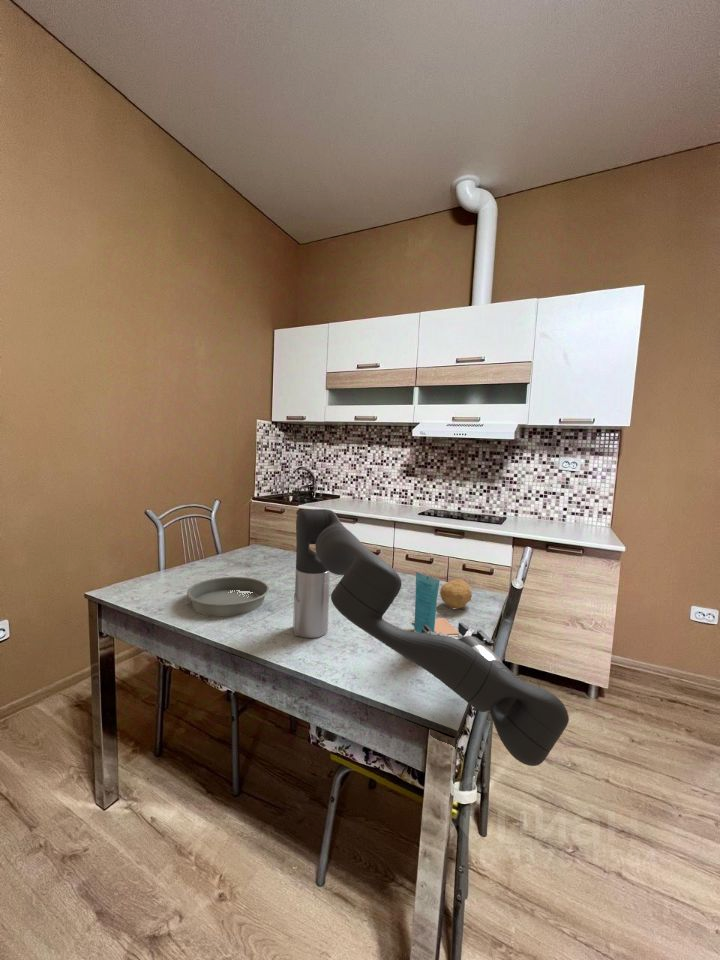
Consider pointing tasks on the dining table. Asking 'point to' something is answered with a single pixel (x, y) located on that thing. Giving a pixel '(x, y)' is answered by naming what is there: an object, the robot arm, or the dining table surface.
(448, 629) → the coaster
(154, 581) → the dining table surface
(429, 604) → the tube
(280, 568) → the dining table surface
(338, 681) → the dining table surface
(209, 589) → the cake pan
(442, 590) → the potato
